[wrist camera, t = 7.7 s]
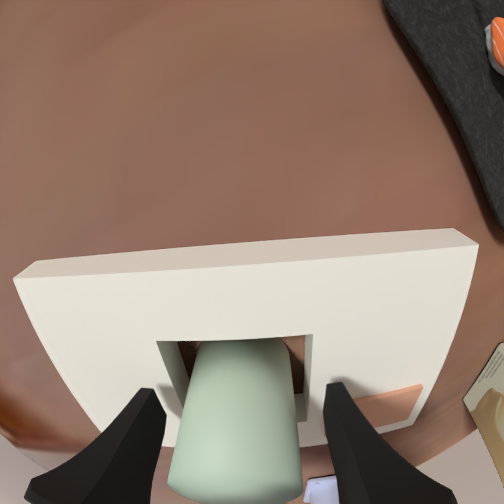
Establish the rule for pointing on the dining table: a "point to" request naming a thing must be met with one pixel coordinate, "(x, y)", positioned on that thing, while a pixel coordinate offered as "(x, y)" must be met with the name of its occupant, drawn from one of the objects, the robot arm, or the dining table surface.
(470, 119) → the sushi plate
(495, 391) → the skincare box
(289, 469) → the peg
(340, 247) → the hole board
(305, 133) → the dining table surface
